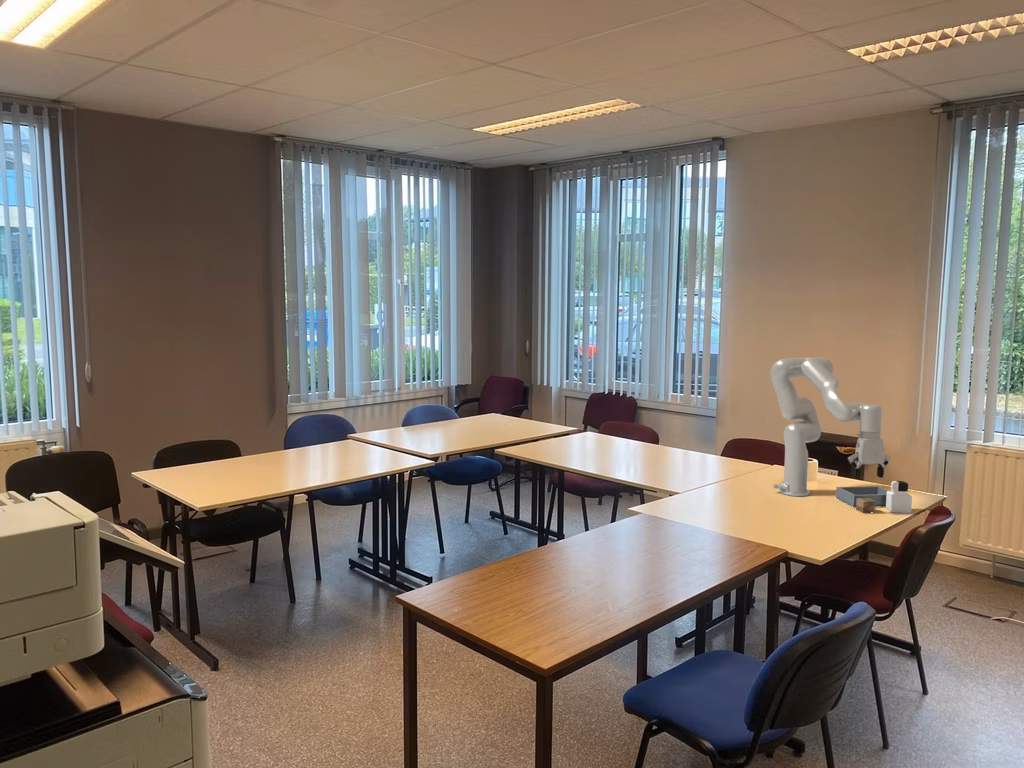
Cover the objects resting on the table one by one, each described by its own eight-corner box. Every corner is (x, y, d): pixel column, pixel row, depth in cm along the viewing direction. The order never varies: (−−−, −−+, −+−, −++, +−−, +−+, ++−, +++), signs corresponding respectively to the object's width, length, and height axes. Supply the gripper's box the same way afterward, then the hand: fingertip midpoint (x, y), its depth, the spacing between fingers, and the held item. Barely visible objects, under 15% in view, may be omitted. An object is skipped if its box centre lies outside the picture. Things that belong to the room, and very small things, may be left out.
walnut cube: (862, 513, 293) (863, 501, 292) (855, 510, 298) (856, 498, 297) (874, 513, 293) (875, 501, 293) (867, 509, 298) (868, 497, 298)
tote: (853, 507, 301) (854, 495, 301) (835, 498, 315) (836, 487, 315) (897, 506, 303) (898, 494, 302) (877, 497, 317) (878, 486, 316)
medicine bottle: (903, 508, 300) (905, 479, 299) (911, 513, 293) (913, 484, 292) (885, 508, 301) (887, 479, 299) (892, 512, 294) (894, 483, 292)
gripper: (854, 437, 287) (853, 480, 289) (896, 436, 289) (894, 478, 291) (844, 434, 295) (842, 476, 297) (885, 433, 296) (883, 474, 298)
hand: (868, 477), depth 294 cm, fingers open, 9 cm apart
